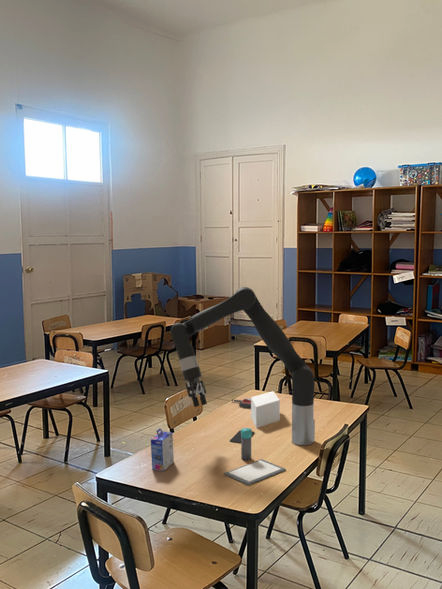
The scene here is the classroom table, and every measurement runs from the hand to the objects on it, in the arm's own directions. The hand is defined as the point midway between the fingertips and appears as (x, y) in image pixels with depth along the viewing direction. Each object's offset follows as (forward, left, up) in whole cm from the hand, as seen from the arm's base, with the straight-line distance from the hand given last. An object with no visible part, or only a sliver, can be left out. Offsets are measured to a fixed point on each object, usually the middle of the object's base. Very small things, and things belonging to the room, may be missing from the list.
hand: (200, 405), depth 243 cm
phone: (-22, +3, -19) cm, 29 cm away
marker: (-6, +22, -18) cm, 29 cm away
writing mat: (+1, +34, -18) cm, 38 cm away
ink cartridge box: (+23, +5, -18) cm, 30 cm away
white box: (-48, -8, -19) cm, 52 cm away
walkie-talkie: (-56, -30, -19) cm, 67 cm away
